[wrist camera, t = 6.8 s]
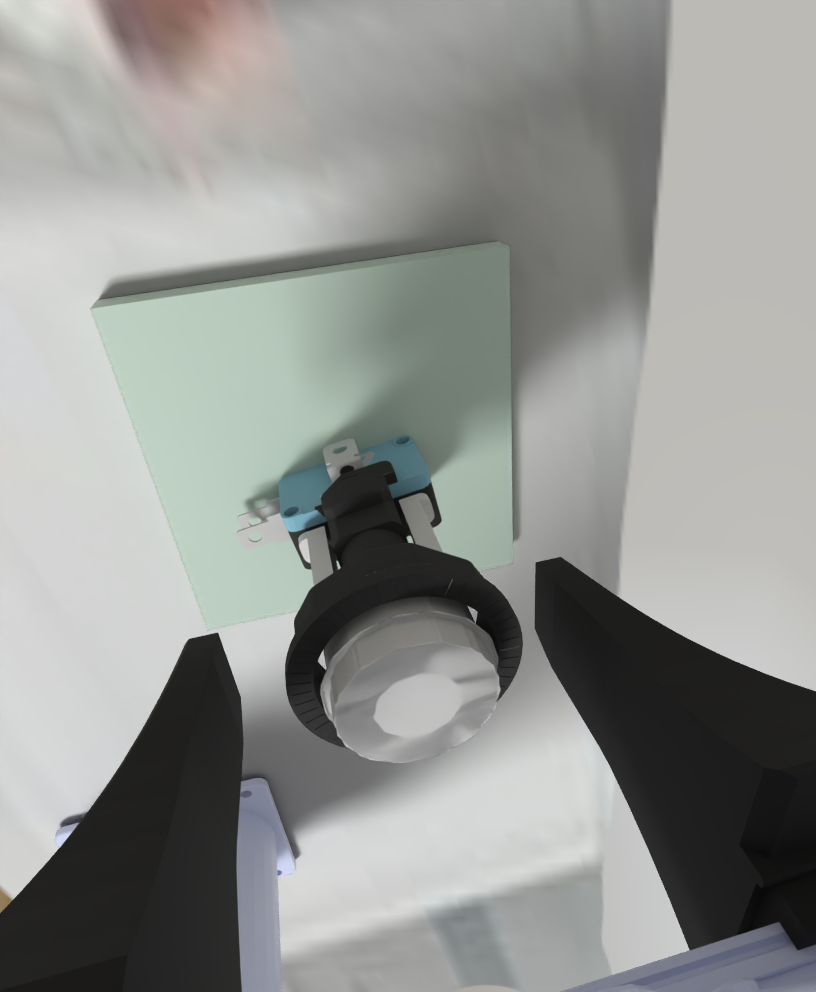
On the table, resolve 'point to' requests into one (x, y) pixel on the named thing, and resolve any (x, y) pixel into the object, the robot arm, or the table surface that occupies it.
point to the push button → (386, 608)
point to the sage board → (317, 403)
